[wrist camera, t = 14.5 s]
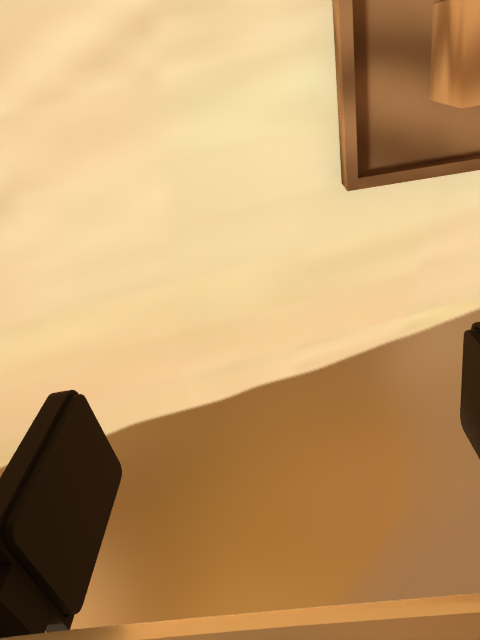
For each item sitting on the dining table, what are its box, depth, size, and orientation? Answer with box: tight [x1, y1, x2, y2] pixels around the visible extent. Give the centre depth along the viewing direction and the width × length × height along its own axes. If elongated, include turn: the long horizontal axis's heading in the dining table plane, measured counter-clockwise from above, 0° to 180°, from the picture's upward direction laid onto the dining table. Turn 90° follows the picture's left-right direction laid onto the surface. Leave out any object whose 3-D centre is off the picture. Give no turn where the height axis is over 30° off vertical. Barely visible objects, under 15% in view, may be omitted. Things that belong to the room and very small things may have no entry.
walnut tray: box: [332, 0, 480, 191], centre depth 29 cm, size 16×18×2 cm
